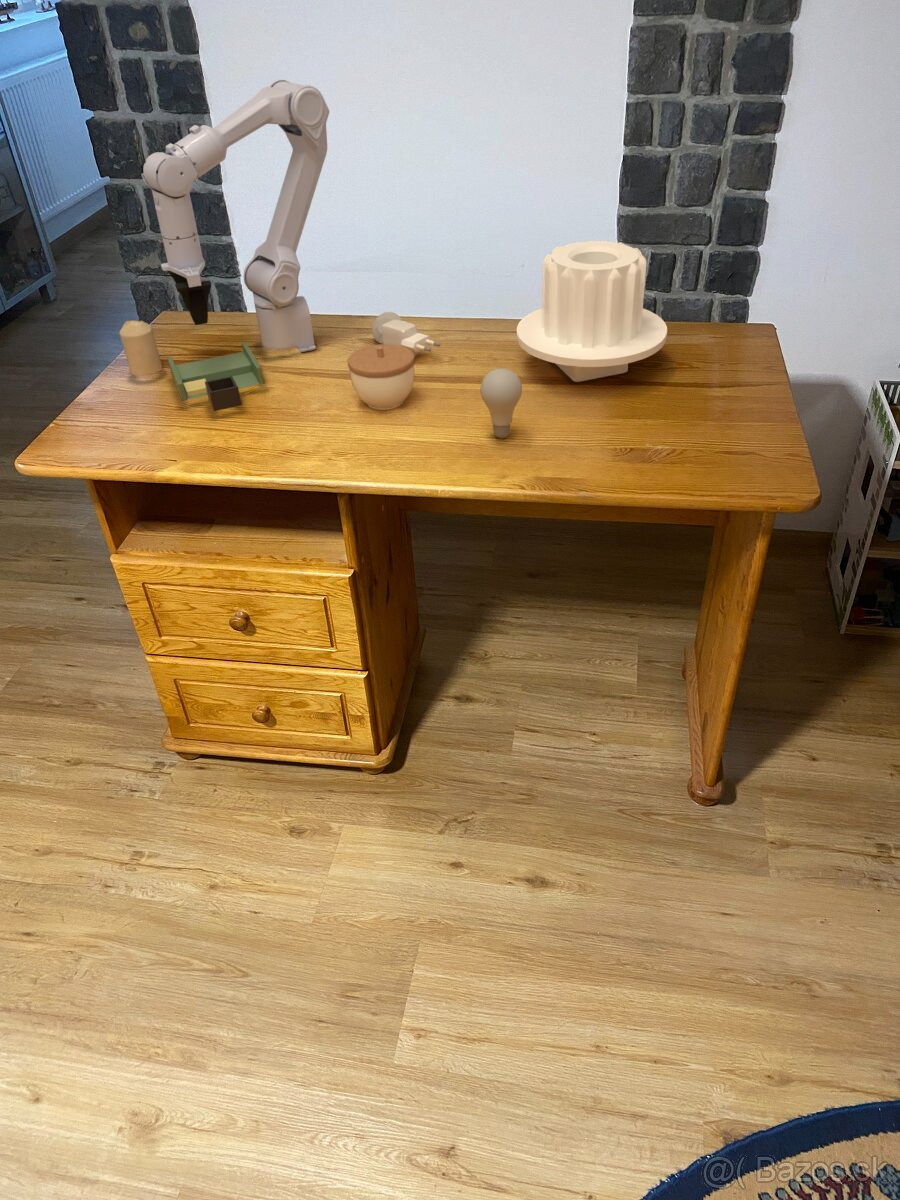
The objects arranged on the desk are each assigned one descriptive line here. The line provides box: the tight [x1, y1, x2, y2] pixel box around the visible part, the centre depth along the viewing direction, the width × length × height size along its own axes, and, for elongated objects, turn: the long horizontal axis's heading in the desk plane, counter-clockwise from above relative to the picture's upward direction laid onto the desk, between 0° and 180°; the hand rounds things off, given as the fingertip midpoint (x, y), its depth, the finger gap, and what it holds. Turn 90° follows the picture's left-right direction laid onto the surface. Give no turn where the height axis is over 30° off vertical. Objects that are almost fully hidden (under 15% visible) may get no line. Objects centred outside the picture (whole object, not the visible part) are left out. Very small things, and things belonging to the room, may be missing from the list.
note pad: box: [183, 379, 207, 397], centre depth 154 cm, size 4×4×1 cm
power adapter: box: [382, 319, 441, 357], centre depth 161 cm, size 11×5×6 cm, turn 50°
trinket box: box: [347, 343, 416, 411], centre depth 147 cm, size 11×11×9 cm
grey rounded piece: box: [371, 311, 403, 345], centre depth 170 cm, size 6×6×5 cm
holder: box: [205, 376, 242, 412], centre depth 150 cm, size 5×5×4 cm
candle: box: [119, 320, 163, 377], centre depth 160 cm, size 6×6×10 cm
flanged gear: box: [516, 239, 668, 383], centre depth 151 cm, size 25×25×19 cm
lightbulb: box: [480, 367, 523, 439], centre depth 135 cm, size 6×6×11 cm
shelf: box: [167, 341, 265, 402], centre depth 157 cm, size 14×12×4 cm
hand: (197, 316), depth 156 cm, fingers open, 7 cm apart
